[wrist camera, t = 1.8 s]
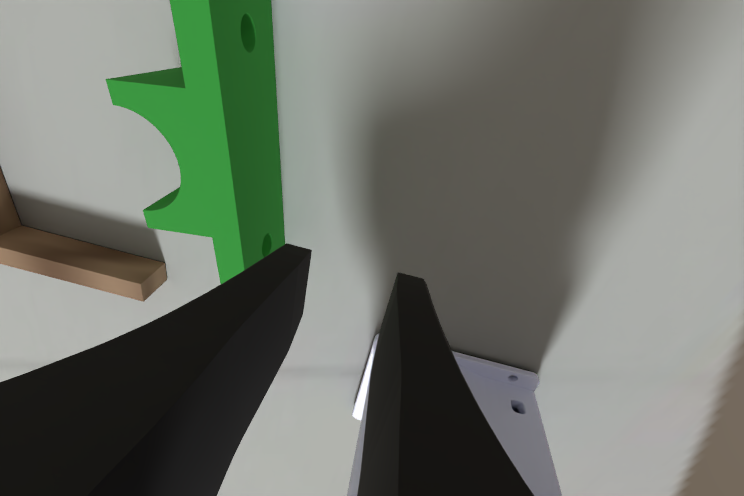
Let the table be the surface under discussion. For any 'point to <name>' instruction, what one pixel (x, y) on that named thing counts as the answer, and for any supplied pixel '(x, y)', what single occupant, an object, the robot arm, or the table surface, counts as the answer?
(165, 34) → the table surface
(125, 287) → the walnut bay
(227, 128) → the pipe clamp
